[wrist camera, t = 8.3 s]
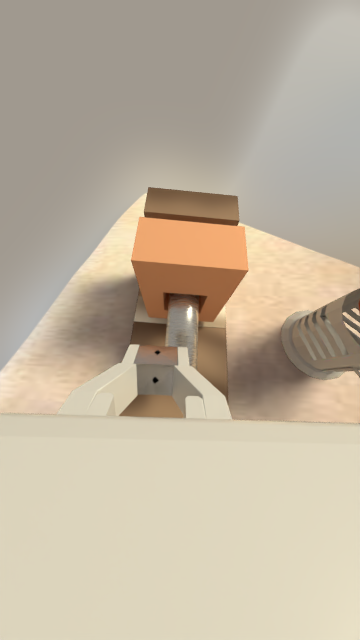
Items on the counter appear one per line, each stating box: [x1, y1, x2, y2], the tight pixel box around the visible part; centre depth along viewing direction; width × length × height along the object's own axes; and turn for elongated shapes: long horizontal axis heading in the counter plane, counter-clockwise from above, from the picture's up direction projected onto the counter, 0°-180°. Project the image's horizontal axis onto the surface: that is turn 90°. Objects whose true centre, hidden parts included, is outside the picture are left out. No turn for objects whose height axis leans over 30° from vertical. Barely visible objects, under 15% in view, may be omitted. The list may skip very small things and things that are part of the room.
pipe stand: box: [119, 187, 239, 418], centre depth 18 cm, size 21×12×12 cm, turn 176°
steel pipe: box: [165, 293, 199, 370], centre depth 17 cm, size 15×3×3 cm, turn 176°
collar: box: [131, 217, 248, 322], centre depth 18 cm, size 4×8×10 cm, turn 86°
